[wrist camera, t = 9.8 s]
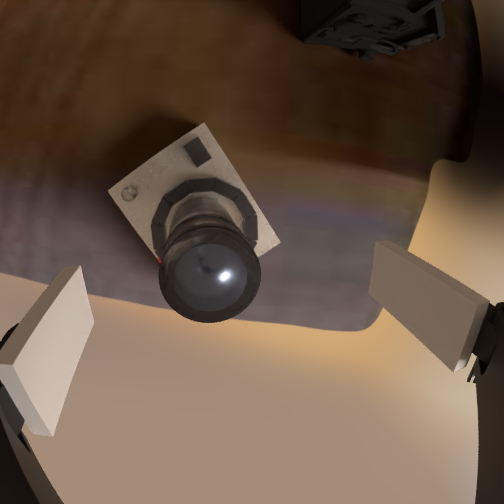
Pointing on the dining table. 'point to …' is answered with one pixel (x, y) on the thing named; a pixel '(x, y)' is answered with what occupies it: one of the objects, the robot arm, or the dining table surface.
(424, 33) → the camera
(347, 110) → the dining table surface
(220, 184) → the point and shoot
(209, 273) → the lens
